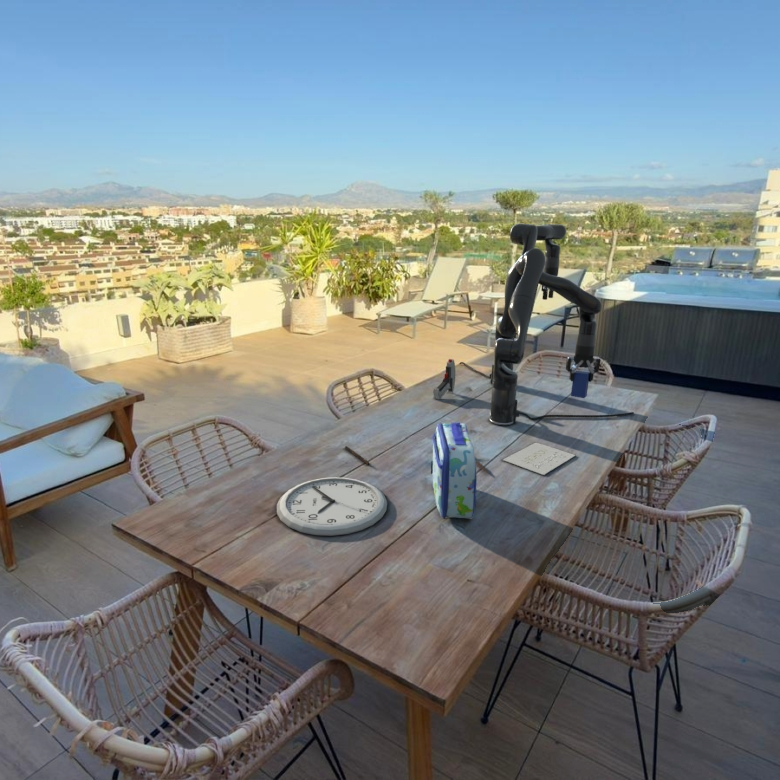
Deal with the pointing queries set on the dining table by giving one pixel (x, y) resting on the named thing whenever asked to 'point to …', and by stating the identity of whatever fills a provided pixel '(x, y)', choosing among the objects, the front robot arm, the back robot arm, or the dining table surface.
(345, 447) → the brown wooden stick
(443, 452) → the lunch box
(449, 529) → the dining table surface
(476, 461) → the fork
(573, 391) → the block
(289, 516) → the wall clock
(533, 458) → the invitation card
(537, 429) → the dining table surface
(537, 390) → the dining table surface
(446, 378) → the toy gun
